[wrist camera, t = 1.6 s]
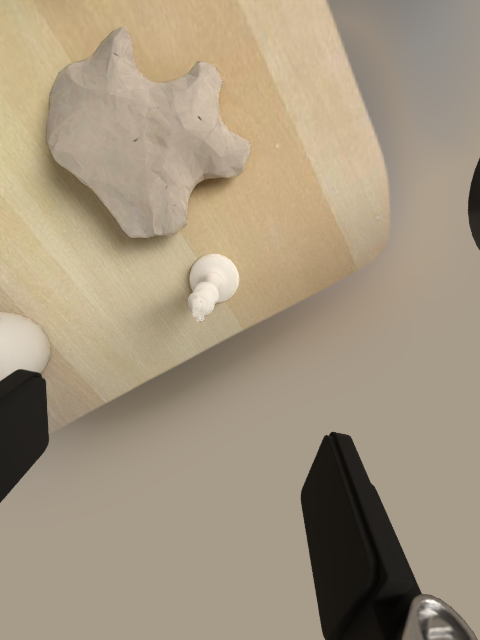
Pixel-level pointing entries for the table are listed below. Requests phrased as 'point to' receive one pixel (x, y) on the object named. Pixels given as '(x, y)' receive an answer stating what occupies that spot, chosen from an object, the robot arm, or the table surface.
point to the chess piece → (211, 284)
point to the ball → (22, 345)
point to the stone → (140, 136)
